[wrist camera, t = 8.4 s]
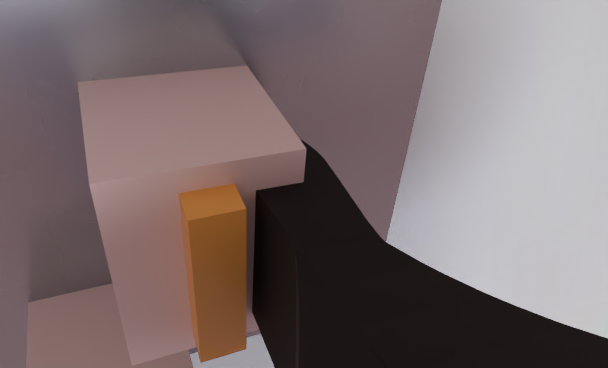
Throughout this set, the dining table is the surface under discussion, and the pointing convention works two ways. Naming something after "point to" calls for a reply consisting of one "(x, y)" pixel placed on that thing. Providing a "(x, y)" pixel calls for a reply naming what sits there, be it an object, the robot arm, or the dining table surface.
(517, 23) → the dining table surface
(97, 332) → the block
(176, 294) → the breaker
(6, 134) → the panel
